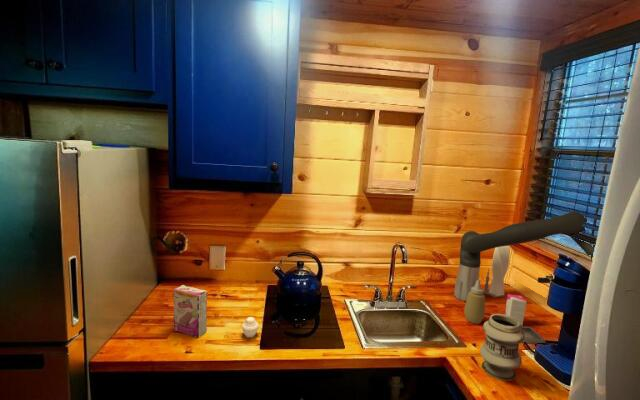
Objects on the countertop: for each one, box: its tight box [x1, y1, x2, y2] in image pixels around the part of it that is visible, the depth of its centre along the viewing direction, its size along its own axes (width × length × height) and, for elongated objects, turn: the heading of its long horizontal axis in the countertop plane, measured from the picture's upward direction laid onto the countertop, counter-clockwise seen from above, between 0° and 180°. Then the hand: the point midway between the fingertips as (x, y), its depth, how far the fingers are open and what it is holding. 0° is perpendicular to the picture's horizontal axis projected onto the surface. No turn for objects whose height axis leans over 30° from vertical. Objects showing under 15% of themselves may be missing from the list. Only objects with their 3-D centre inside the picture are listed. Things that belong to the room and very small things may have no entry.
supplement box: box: [503, 293, 527, 326], centre depth 144 cm, size 6×6×12 cm
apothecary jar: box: [479, 313, 524, 382], centre depth 110 cm, size 12×12×18 cm
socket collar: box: [520, 326, 546, 345], centre depth 134 cm, size 10×10×2 cm
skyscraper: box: [483, 246, 511, 298], centre depth 172 cm, size 8×8×28 cm
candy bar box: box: [173, 284, 208, 338], centre depth 123 cm, size 11×5×16 cm, turn 71°
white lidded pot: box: [241, 316, 260, 338], centre depth 124 cm, size 6×6×7 cm
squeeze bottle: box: [463, 279, 486, 325], centre depth 143 cm, size 8×8×18 cm
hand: (543, 283), depth 141 cm, fingers open, 8 cm apart
